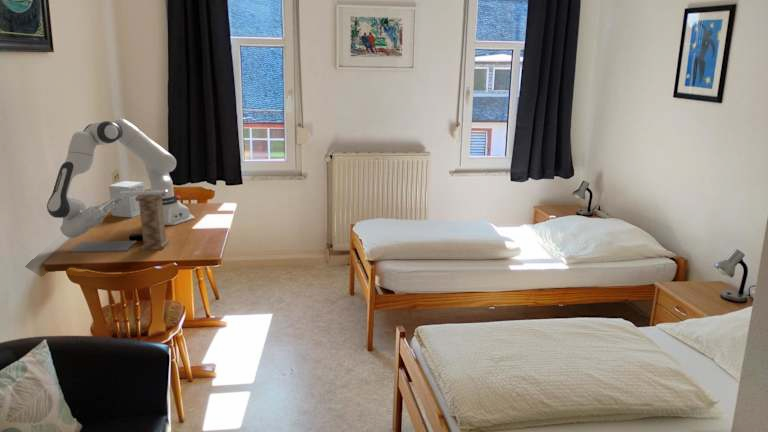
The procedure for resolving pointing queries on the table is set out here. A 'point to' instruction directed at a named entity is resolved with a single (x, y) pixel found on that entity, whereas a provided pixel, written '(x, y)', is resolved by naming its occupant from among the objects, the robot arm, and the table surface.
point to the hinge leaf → (145, 193)
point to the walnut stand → (152, 222)
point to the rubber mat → (103, 246)
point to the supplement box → (125, 198)
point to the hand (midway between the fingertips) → (117, 201)
